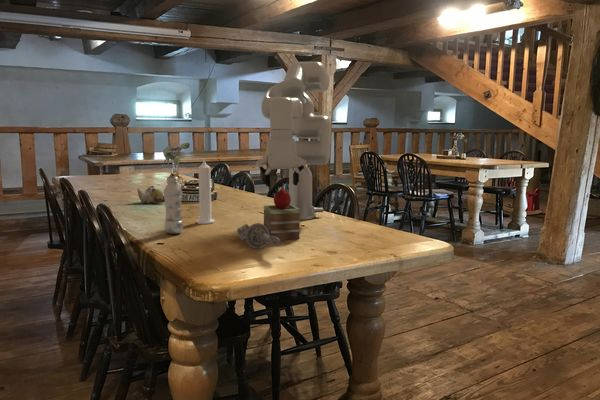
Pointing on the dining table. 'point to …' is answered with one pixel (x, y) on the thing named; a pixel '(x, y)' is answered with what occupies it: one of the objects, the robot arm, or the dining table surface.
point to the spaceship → (257, 236)
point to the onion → (282, 199)
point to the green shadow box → (282, 222)
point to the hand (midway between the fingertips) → (281, 185)
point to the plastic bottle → (173, 206)
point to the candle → (205, 194)
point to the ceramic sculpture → (151, 195)
